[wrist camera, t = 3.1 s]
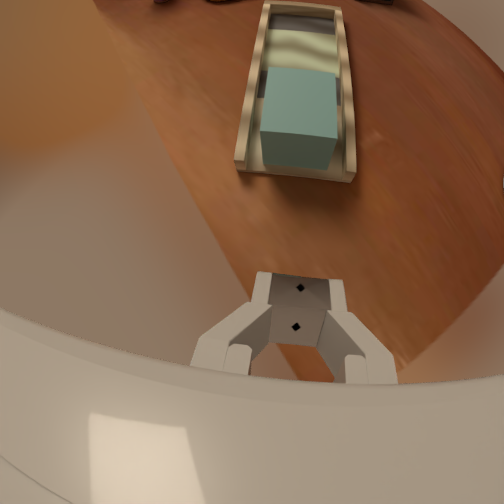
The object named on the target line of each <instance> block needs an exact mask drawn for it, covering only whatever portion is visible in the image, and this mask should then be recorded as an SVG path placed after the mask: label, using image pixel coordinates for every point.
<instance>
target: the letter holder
mask: <svg viewBox="0 0 504 504" xmlns="http://www.w3.org/2000/svg"><path fill="white" fill-rule="evenodd" d="M361 1H369V2H376V3H383V4H389V5H392V3H393V0H361Z"/></svg>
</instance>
